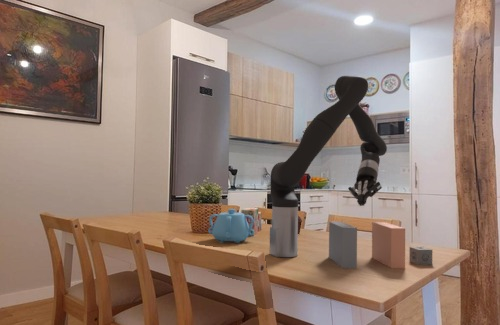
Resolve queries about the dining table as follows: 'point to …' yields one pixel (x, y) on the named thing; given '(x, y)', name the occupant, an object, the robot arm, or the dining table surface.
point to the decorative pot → (231, 226)
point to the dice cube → (420, 255)
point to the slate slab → (343, 244)
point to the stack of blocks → (256, 217)
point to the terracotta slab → (388, 244)
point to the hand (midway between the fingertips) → (361, 204)
